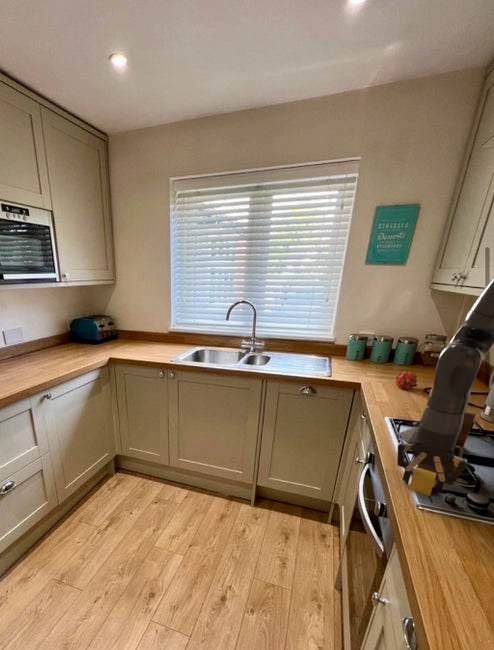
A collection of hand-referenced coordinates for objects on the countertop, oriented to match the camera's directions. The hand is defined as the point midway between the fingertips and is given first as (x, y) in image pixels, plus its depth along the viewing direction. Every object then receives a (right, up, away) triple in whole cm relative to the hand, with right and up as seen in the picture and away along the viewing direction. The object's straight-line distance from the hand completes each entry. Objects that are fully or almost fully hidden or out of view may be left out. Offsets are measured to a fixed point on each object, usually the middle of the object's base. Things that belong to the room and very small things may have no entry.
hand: (420, 486), depth 83 cm
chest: (+10, +2, +7) cm, 12 cm away
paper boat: (+16, +9, +24) cm, 31 cm away
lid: (+12, +14, +5) cm, 19 cm away
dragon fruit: (+45, +27, +73) cm, 90 cm away
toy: (0, 0, 0) cm, 0 cm away
